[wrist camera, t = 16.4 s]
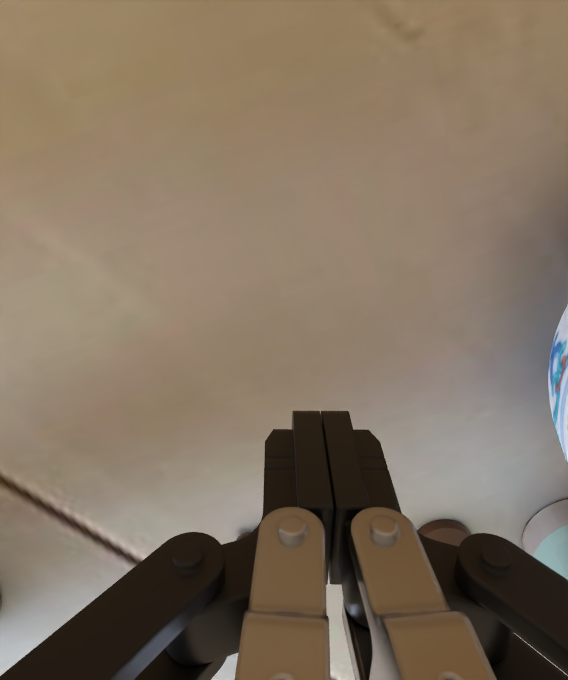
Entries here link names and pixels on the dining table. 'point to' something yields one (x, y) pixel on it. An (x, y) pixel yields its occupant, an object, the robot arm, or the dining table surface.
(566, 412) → the chinaware
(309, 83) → the dining table surface
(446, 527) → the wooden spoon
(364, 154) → the dining table surface
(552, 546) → the coffee cup
